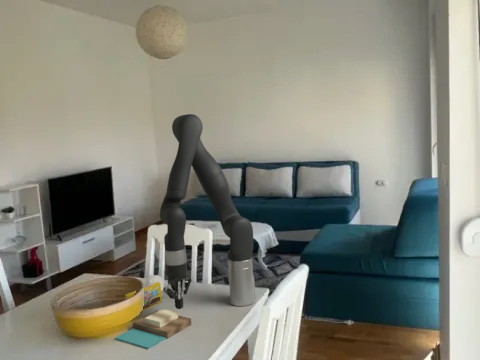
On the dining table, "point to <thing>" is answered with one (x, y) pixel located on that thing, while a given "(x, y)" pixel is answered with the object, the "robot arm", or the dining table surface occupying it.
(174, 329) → the wooden board
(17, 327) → the dining table surface
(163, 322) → the tile
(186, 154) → the robot arm
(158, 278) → the cat figurine
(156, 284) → the candy box
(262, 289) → the dining table surface
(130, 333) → the mat
